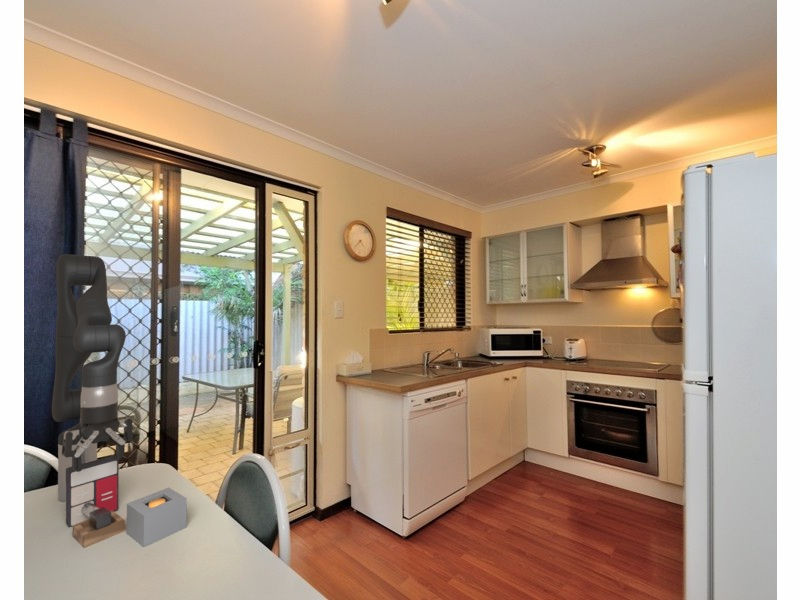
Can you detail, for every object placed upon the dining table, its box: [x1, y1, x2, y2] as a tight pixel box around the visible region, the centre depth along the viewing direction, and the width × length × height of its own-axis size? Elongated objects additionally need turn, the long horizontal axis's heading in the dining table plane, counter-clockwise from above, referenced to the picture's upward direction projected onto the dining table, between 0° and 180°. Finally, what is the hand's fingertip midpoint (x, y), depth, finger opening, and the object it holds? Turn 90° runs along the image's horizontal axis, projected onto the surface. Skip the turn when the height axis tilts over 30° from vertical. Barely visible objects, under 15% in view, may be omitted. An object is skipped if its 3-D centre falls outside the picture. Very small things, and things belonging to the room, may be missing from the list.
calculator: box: [65, 455, 120, 528], centre depth 104 cm, size 11×4×15 cm, turn 142°
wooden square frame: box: [72, 510, 126, 549], centre depth 96 cm, size 8×8×3 cm
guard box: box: [126, 487, 188, 548], centre depth 97 cm, size 10×10×8 cm
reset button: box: [149, 498, 165, 508], centre depth 97 cm, size 4×4×5 cm
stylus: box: [81, 503, 111, 530], centre depth 97 cm, size 3×3×12 cm
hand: (99, 464), depth 96 cm, fingers open, 8 cm apart
